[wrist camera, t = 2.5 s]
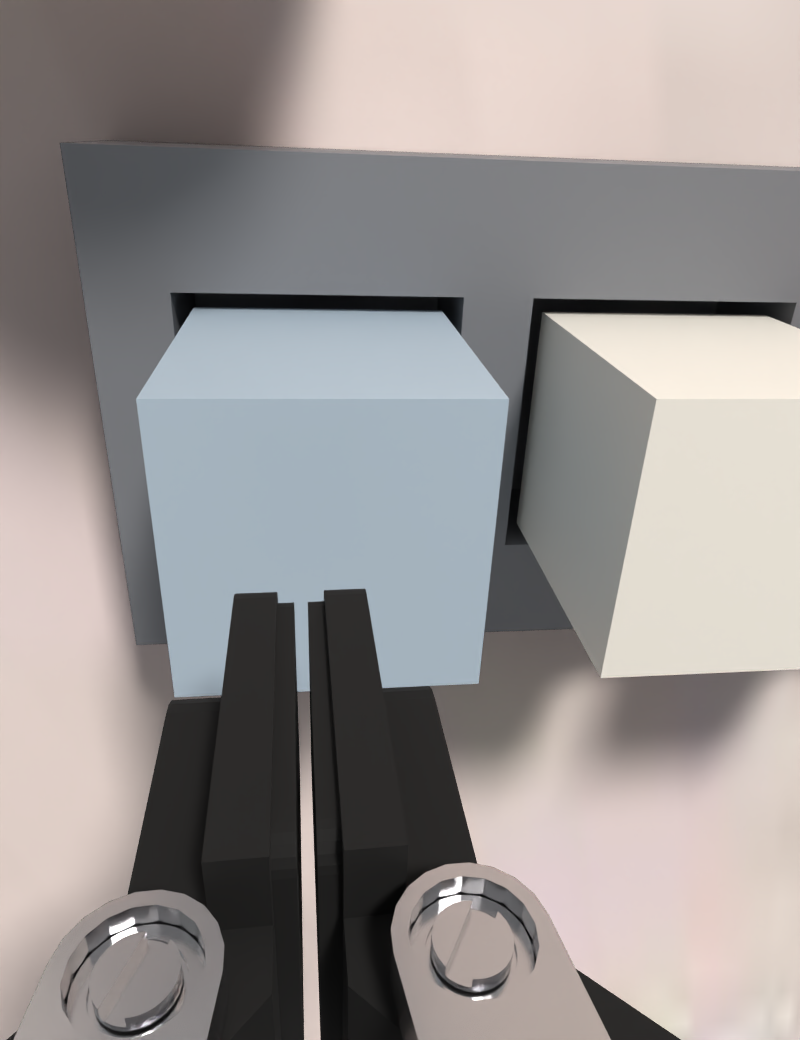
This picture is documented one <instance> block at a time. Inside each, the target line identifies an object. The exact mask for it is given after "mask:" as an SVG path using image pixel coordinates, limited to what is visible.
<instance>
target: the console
mask: <svg viewBox="0 0 800 1040" xmlns="http://www.w3.org/2000/svg"><path fill="white" fill-rule="evenodd" d="M60 147H61V153H62V160H63V166H64V173H65V180H66V186H67V193H68V199H69V206H70V212H71V219H72V225H73V232H74V239H75V245H76V252H77V258H78V265H79V271H80V278H81V284H82V291H83V297H84V304H85V311H86V317H87V324H88V330H89V337H90V343H91V350H92V356H93V363H94V370H95V376H96V383H97V389H98V396H99V402H100V409H101V415H102V422H103V429H104V435H105V442H106V448H107V455H108V461H109V468H110V474H111V481H112V488H113V494H114V501H115V507H116V514H117V520H118V527H119V533H120V540H121V546H122V553H123V560H124V566H125V573H126V579H127V586H128V592H129V599H130V605H131V612H132V619H133V625H134V632H135V638H136V645H147V644H168V642H167V635H166V627H165V619H164V611H163V604H162V596H161V588H160V580H159V573H158V565H157V557H156V549H155V542H154V534H153V526H152V518H151V511H150V503H149V495H148V487H147V480H146V472H145V464H144V457H143V449H142V441H141V433H140V426H139V418H138V410H137V402H136V398H137V397H138V395H139V394H140V392H141V390H142V389H143V387H144V386H145V384H146V382H147V381H148V379H149V378H150V376H151V374H152V373H153V371H154V370H155V368H156V367H157V365H158V363H159V362H160V360H161V359H162V357H163V355H164V354H165V352H166V351H167V349H168V347H169V346H170V344H171V343H172V341H173V340H174V338H175V336H176V335H177V333H178V332H179V330H180V328H181V327H182V325H183V324H184V322H185V321H186V319H187V317H188V316H189V314H190V313H191V311H192V309H193V308H194V307H232V308H303V309H374V310H442V311H443V313H444V314H445V315H446V317H447V318H448V319H449V321H450V322H451V323H452V325H453V326H454V327H455V328H456V330H457V331H458V332H459V334H460V335H461V336H462V338H463V339H464V340H465V342H466V343H467V344H468V346H469V347H470V348H471V349H472V351H473V352H474V353H475V355H476V356H477V357H478V359H479V360H480V361H481V363H482V364H483V365H484V367H485V368H486V369H487V370H488V372H489V373H490V374H491V376H492V377H493V378H494V380H495V381H496V382H497V384H498V385H499V386H500V388H501V389H502V390H503V391H504V393H505V394H506V395H507V397H508V398H509V406H508V415H507V424H506V434H505V443H504V452H503V462H502V471H501V480H500V489H499V499H498V508H497V517H496V527H495V536H494V545H493V555H492V564H491V573H490V582H489V592H488V601H487V610H486V620H485V629H484V632H500V631H527V630H554V629H574V628H573V626H572V624H571V623H570V621H569V619H568V617H567V615H566V613H565V611H564V610H563V608H562V606H561V604H560V602H559V600H558V599H557V597H556V595H555V593H554V591H553V589H552V587H551V586H550V584H549V582H548V580H547V578H546V576H545V574H544V573H543V571H542V569H541V567H540V565H539V563H538V561H537V560H536V558H535V556H534V554H533V552H532V550H531V549H530V547H529V545H528V543H527V541H526V539H525V537H524V536H523V534H522V532H521V530H520V528H519V526H518V524H517V516H518V507H519V499H520V491H521V483H522V475H523V466H524V458H525V450H526V442H527V434H528V425H529V417H530V409H531V401H532V392H533V384H534V376H535V368H536V360H537V351H538V343H539V335H540V327H541V319H542V312H587V313H658V314H729V315H766V316H769V317H771V318H774V319H776V320H779V321H781V322H784V323H786V324H789V325H791V326H794V327H796V328H799V329H800V167H778V166H753V165H727V164H701V163H675V162H650V161H624V160H598V159H572V158H546V157H521V156H495V155H469V154H443V153H418V152H392V151H366V150H340V149H314V148H289V147H263V146H237V145H211V144H186V143H160V142H134V141H108V140H107V141H87V142H66V143H60Z"/></svg>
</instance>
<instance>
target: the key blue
mask: <svg viewBox="0 0 800 1040" xmlns="http://www.w3.org/2000/svg"><path fill="white" fill-rule="evenodd" d="M136 402H137V410H138V418H139V426H140V433H141V441H142V449H143V457H144V464H145V472H146V480H147V487H148V495H149V503H150V511H151V518H152V526H153V534H154V542H155V549H156V557H157V565H158V573H159V580H160V588H161V596H162V604H163V611H164V619H165V627H166V635H167V642H168V650H169V658H170V666H171V673H172V681H173V689H174V697H193V696H215V695H222V688H223V680H224V671H225V663H226V655H227V647H228V639H229V630H230V622H231V614H232V606H233V598H234V594H237V593H263V592H277V594H278V603H292V602H294V610H295V640H296V670H297V692H304V691H310V680H309V637H308V602H317V601H324V590H340V589H366V593H367V599H368V605H369V611H370V617H371V623H372V629H373V635H374V641H375V647H376V653H377V659H378V665H379V671H380V677H381V683H382V688H393V687H415V686H438V685H460V684H479V675H480V666H481V657H482V648H483V638H484V629H485V620H486V610H487V601H488V592H489V582H490V573H491V564H492V555H493V545H494V536H495V527H496V517H497V508H498V499H499V489H500V480H501V471H502V462H503V452H504V443H505V434H506V424H507V415H508V406H509V398H508V397H507V395H506V394H505V393H504V391H503V390H502V389H501V388H500V386H499V385H498V384H497V382H496V381H495V380H494V378H493V377H492V376H491V374H490V373H489V372H488V370H487V369H486V368H485V367H484V365H483V364H482V363H481V361H480V360H479V359H478V357H477V356H476V355H475V353H474V352H473V351H472V349H471V348H470V347H469V346H468V344H467V343H466V342H465V340H464V339H463V338H462V336H461V335H460V334H459V332H458V331H457V330H456V328H455V327H454V326H453V325H452V323H451V322H450V321H449V319H448V318H447V317H446V315H445V314H444V313H443V311H442V310H374V309H303V308H232V307H194V308H193V309H192V311H191V313H190V314H189V316H188V317H187V319H186V321H185V322H184V324H183V325H182V327H181V328H180V330H179V332H178V333H177V335H176V336H175V338H174V340H173V341H172V343H171V344H170V346H169V347H168V349H167V351H166V352H165V354H164V355H163V357H162V359H161V360H160V362H159V363H158V365H157V367H156V368H155V370H154V371H153V373H152V374H151V376H150V378H149V379H148V381H147V382H146V384H145V386H144V387H143V389H142V390H141V392H140V394H139V395H138V397H137V398H136Z"/></svg>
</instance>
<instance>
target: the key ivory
mask: <svg viewBox="0 0 800 1040" xmlns="http://www.w3.org/2000/svg"><path fill="white" fill-rule="evenodd" d="M517 524H518V526H519V528H520V530H521V532H522V534H523V536H524V537H525V539H526V541H527V543H528V545H529V547H530V549H531V550H532V552H533V554H534V556H535V558H536V560H537V561H538V563H539V565H540V567H541V569H542V571H543V573H544V574H545V576H546V578H547V580H548V582H549V584H550V586H551V587H552V589H553V591H554V593H555V595H556V597H557V599H558V600H559V602H560V604H561V606H562V608H563V610H564V611H565V613H566V615H567V617H568V619H569V621H570V623H571V624H572V626H573V628H574V630H575V632H576V634H577V636H578V637H579V639H580V641H581V643H582V645H583V647H584V648H585V650H586V652H587V654H588V656H589V658H590V660H591V661H592V663H593V665H594V667H595V669H596V671H597V673H598V674H599V676H600V678H615V677H638V676H660V675H682V674H704V673H727V672H749V671H771V670H793V669H800V329H799V328H796V327H794V326H791V325H789V324H786V323H784V322H781V321H779V320H776V319H774V318H771V317H769V316H766V315H729V314H658V313H587V312H542V319H541V327H540V335H539V343H538V351H537V360H536V368H535V376H534V384H533V392H532V401H531V409H530V417H529V425H528V434H527V442H526V450H525V458H524V466H523V475H522V483H521V491H520V499H519V507H518V516H517Z"/></svg>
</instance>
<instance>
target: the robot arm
mask: <svg viewBox="0 0 800 1040" xmlns="http://www.w3.org/2000/svg"><path fill="white" fill-rule="evenodd" d="M308 637H309V680H310V723H311V765H312V797H313V826H314V856H315V885H316V915H317V944H318V973H319V1003H320V1032H321V1040H680V1039H679V1038H677V1037H676V1036H674V1035H673V1034H672V1033H670V1032H669V1031H667V1030H666V1029H664V1028H663V1027H661V1026H660V1025H658V1024H657V1023H655V1022H654V1021H652V1020H651V1019H649V1018H648V1017H646V1016H645V1015H643V1014H642V1013H640V1012H639V1011H637V1010H636V1009H635V1008H633V1007H632V1006H630V1005H629V1004H627V1003H626V1002H624V1001H623V1000H621V999H620V998H618V997H617V996H615V995H614V994H612V993H611V992H609V991H608V990H606V989H605V988H603V987H602V986H600V985H599V984H598V983H596V982H595V981H593V980H592V979H590V978H589V977H587V976H586V975H584V974H583V973H581V972H580V971H578V970H577V969H575V967H574V965H573V963H572V961H571V959H570V957H569V954H568V952H567V950H566V948H565V946H564V944H563V942H562V940H561V938H560V936H559V934H558V932H557V930H556V928H555V926H554V924H553V922H552V920H551V918H550V916H549V914H548V913H547V911H546V910H545V908H544V907H543V906H542V904H541V903H540V901H539V900H538V898H537V897H536V895H535V894H534V893H533V892H532V891H531V890H529V889H528V888H527V887H526V886H525V885H523V884H522V883H521V882H520V881H519V880H518V879H516V878H515V877H513V876H511V875H509V874H507V873H505V872H503V871H501V870H498V869H496V868H494V867H491V866H486V865H480V864H477V861H476V857H475V853H474V850H473V846H472V842H471V838H470V834H469V830H468V826H467V822H466V818H465V814H464V811H463V807H462V803H461V799H460V795H459V791H458V787H457V783H456V779H455V776H454V772H453V768H452V764H451V760H450V756H449V752H448V748H447V744H446V740H445V737H444V733H443V729H442V725H441V721H440V717H439V713H438V709H437V705H436V701H435V698H434V695H433V692H432V689H431V688H430V686H416V687H399V688H382V683H381V677H380V671H379V665H378V659H377V653H376V647H375V641H374V635H373V629H372V623H371V617H370V611H369V605H368V599H367V593H366V589H340V590H324V601H317V602H308ZM7 1040H304V1010H303V945H302V880H301V815H300V762H299V731H298V701H297V670H296V640H295V610H294V602H292V603H278V594H277V592H263V593H237V594H234V598H233V606H232V614H231V622H230V630H229V639H228V647H227V655H226V663H225V671H224V680H223V688H222V696H221V698H205V699H187V700H172V701H171V702H170V704H169V706H168V710H167V713H166V718H165V722H164V727H163V732H162V736H161V741H160V746H159V750H158V755H157V760H156V764H155V769H154V774H153V778H152V783H151V788H150V792H149V797H148V802H147V807H146V811H145V816H144V821H143V825H142V830H141V835H140V839H139V844H138V849H137V853H136V858H135V863H134V867H133V872H132V877H131V881H130V886H129V891H128V895H126V896H123V897H120V898H118V899H115V900H112V901H109V902H108V903H106V904H104V905H103V906H101V907H100V908H98V909H97V910H95V911H93V912H92V913H90V914H89V915H87V916H86V917H84V918H83V919H82V920H81V921H80V922H79V923H78V924H77V925H76V926H75V927H74V928H73V929H72V930H71V931H70V932H69V933H68V934H67V935H66V936H65V937H64V938H63V939H62V941H61V943H60V944H59V946H58V948H57V949H56V951H55V952H54V954H53V956H52V957H51V959H50V961H49V962H48V964H47V966H46V968H45V970H44V973H43V975H42V977H41V979H40V982H39V984H38V986H37V988H36V991H35V993H34V995H33V997H32V999H31V1002H30V1004H29V1006H28V1008H27V1011H26V1013H25V1015H24V1017H23V1020H22V1022H21V1024H20V1026H19V1028H18V1031H17V1032H15V1033H14V1034H13V1035H12V1036H11V1037H10V1038H8V1039H7Z"/></svg>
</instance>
